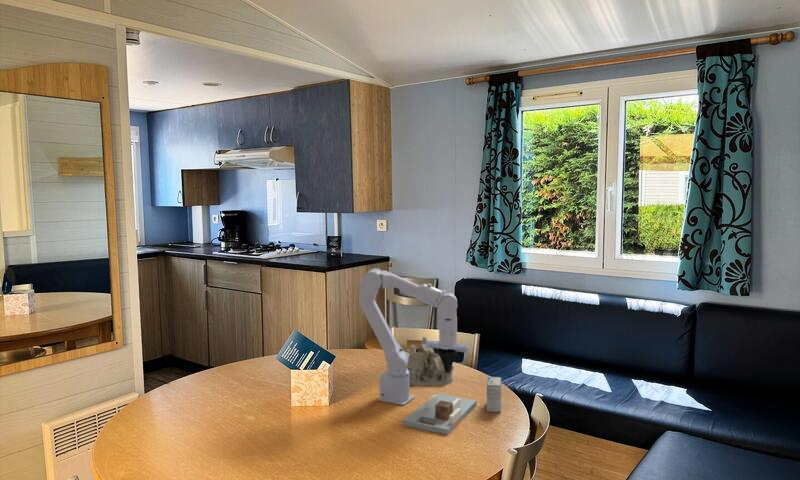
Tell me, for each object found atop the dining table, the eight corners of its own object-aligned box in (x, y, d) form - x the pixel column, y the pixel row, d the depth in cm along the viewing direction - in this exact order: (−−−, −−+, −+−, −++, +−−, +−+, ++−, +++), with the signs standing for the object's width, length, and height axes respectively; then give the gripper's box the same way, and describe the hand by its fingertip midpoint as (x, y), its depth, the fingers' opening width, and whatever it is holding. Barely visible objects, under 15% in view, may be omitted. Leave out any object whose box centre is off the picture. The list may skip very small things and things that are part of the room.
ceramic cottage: (396, 378, 203) (398, 338, 201) (429, 371, 213) (432, 333, 212) (424, 393, 191) (427, 351, 189) (458, 384, 201) (461, 344, 200)
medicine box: (500, 412, 172) (501, 385, 171) (486, 411, 173) (486, 384, 172) (501, 403, 180) (501, 377, 179) (487, 402, 181) (487, 376, 180)
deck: (403, 425, 163) (403, 412, 163) (436, 398, 185) (436, 386, 184) (447, 434, 157) (447, 421, 157) (476, 405, 178) (476, 393, 178)
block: (435, 418, 164) (435, 404, 164) (440, 413, 168) (440, 400, 168) (447, 420, 163) (447, 407, 162) (452, 415, 166) (452, 402, 166)
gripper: (422, 330, 179) (422, 372, 180) (464, 336, 173) (464, 378, 174) (431, 326, 185) (431, 365, 187) (472, 331, 179) (472, 372, 180)
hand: (447, 371), depth 181 cm, fingers closed
